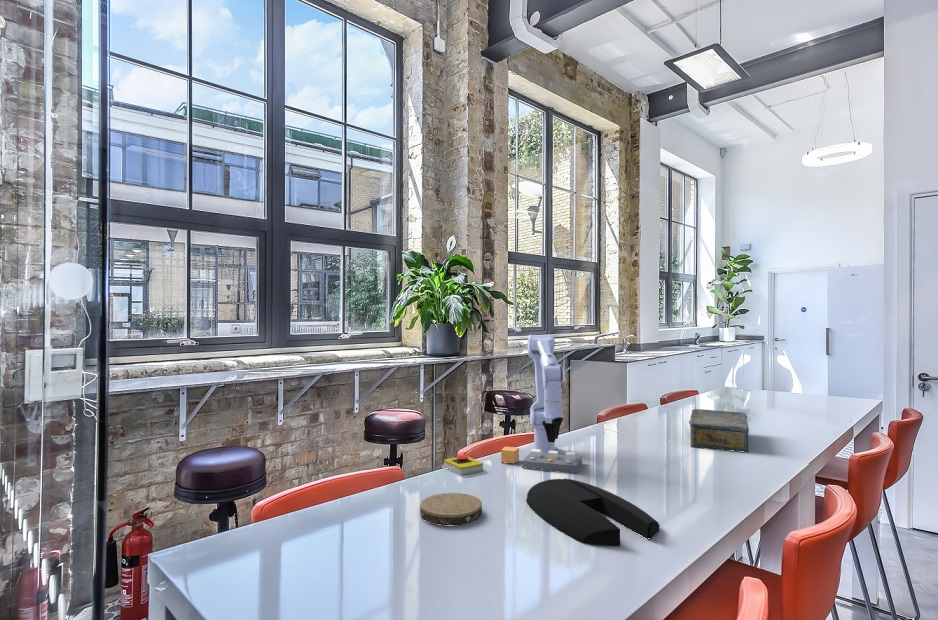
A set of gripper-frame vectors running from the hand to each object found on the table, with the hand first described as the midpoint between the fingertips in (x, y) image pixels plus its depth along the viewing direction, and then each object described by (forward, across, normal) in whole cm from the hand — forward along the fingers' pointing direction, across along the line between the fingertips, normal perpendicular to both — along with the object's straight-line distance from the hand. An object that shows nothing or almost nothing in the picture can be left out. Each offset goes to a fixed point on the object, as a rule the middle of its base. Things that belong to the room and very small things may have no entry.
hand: (553, 440), depth 178 cm
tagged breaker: (+7, 0, 0) cm, 7 cm away
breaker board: (+8, +1, 0) cm, 8 cm away
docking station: (+9, +39, +16) cm, 43 cm away
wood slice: (+9, +52, -16) cm, 55 cm away
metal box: (+9, -56, +56) cm, 80 cm away
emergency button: (+9, +15, -27) cm, 32 cm away
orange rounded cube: (+8, +1, -15) cm, 17 cm away
